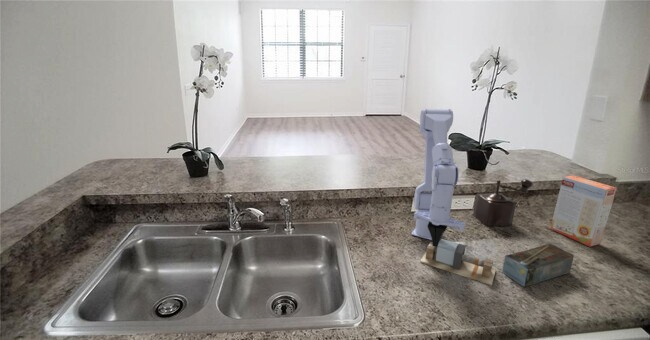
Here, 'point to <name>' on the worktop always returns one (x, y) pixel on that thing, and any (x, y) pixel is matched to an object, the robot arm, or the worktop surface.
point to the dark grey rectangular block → (458, 256)
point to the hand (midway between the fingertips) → (435, 245)
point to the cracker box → (583, 209)
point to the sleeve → (446, 251)
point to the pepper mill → (497, 206)
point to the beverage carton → (537, 264)
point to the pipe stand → (463, 266)
